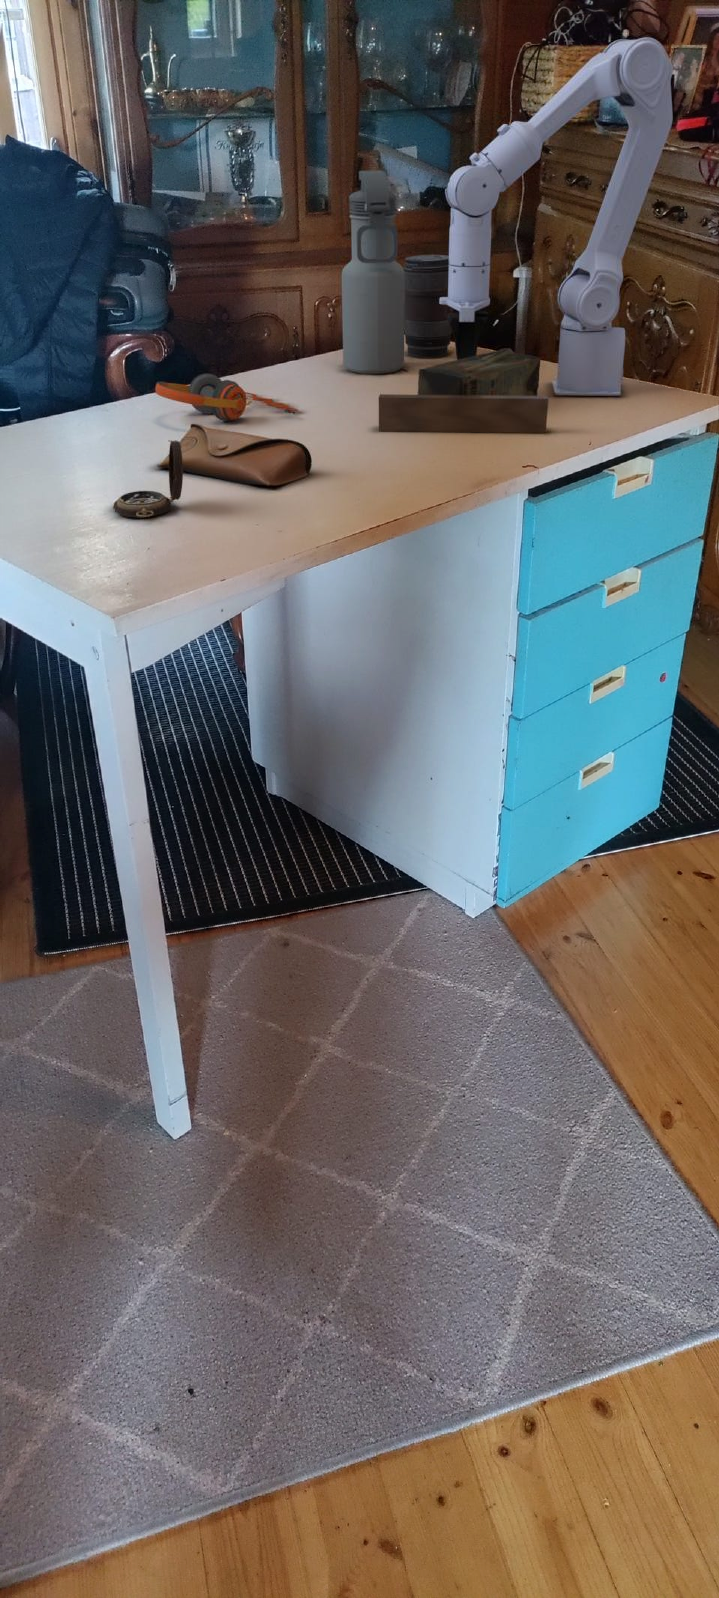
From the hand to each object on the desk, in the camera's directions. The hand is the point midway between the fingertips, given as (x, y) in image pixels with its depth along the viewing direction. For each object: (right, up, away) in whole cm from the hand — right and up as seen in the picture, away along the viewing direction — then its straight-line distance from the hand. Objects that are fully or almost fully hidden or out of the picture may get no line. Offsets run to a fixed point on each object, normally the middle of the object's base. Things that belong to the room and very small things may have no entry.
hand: (465, 366), depth 171 cm
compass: (-38, -31, -42) cm, 65 cm away
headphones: (-34, -9, -5) cm, 36 cm away
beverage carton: (+1, -7, -3) cm, 8 cm away
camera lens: (-4, +12, +29) cm, 32 cm away
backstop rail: (-2, -14, -14) cm, 20 cm away
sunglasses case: (-31, -23, -29) cm, 48 cm away
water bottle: (-13, +6, +19) cm, 24 cm away
